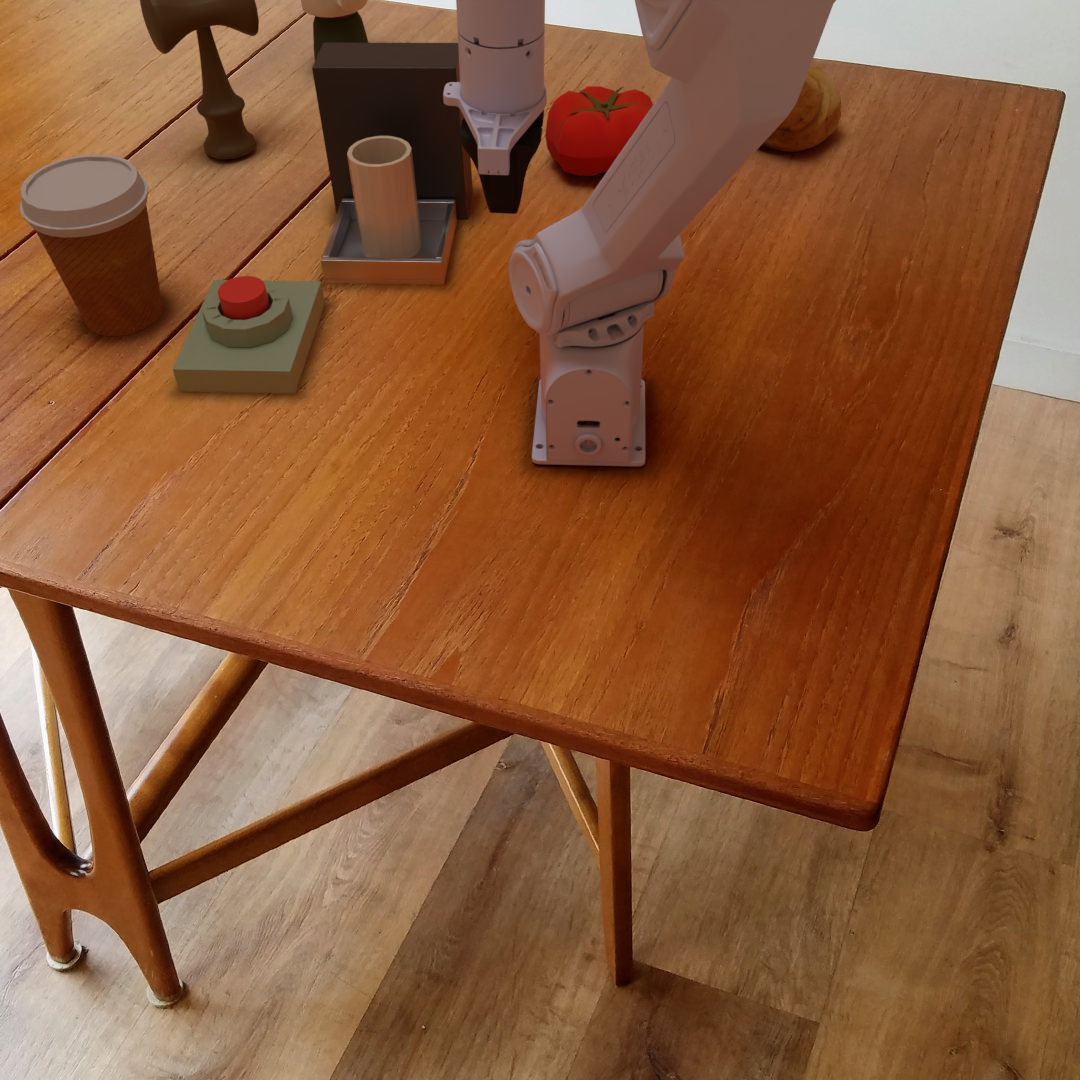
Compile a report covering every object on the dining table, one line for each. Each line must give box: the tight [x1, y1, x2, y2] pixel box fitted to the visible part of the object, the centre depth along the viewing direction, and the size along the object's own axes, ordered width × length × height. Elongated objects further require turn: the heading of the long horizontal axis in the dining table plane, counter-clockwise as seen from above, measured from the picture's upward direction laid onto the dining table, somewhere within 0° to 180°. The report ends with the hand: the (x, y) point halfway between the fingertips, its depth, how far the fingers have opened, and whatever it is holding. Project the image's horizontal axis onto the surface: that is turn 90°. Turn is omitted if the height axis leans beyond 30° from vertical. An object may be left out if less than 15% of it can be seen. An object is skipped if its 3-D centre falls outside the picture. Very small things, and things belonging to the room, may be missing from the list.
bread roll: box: [760, 65, 842, 153], centre depth 112 cm, size 13×10×8 cm
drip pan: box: [320, 198, 458, 286], centre depth 100 cm, size 10×10×2 cm
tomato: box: [544, 85, 654, 177], centre depth 109 cm, size 10×11×6 cm
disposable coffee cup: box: [19, 153, 164, 337], centre depth 91 cm, size 10×10×12 cm
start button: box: [218, 275, 269, 320], centre depth 89 cm, size 4×4×2 cm
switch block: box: [172, 279, 326, 395], centre depth 91 cm, size 12×9×4 cm
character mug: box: [300, 0, 370, 61], centre depth 123 cm, size 11×7×13 cm, turn 23°
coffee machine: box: [311, 42, 474, 221], centre depth 102 cm, size 5×12×14 cm, turn 87°
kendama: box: [139, 0, 260, 160], centre depth 108 cm, size 6×10×20 cm, turn 120°
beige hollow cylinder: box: [347, 136, 422, 258], centre depth 98 cm, size 5×5×9 cm
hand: (503, 208), depth 86 cm, fingers closed
